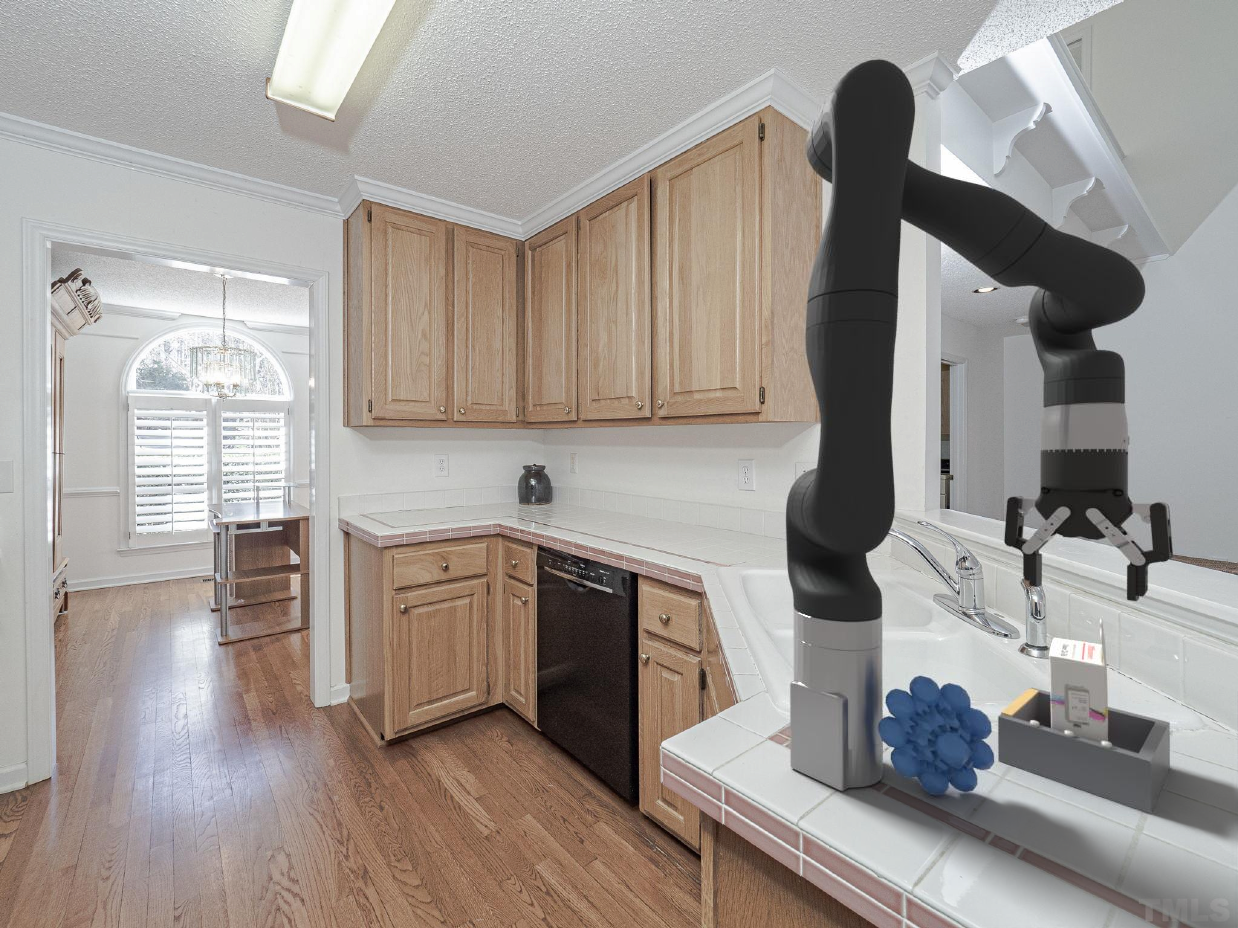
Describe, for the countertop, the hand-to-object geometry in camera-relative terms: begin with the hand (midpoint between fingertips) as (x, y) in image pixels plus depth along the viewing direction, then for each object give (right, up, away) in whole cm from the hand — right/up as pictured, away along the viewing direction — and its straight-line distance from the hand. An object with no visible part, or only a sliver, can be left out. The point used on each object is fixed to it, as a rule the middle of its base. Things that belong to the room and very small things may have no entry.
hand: (1082, 592), depth 63 cm
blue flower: (-19, -20, -6) cm, 28 cm away
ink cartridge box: (0, -18, 0) cm, 18 cm away
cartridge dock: (0, -19, 0) cm, 19 cm away
